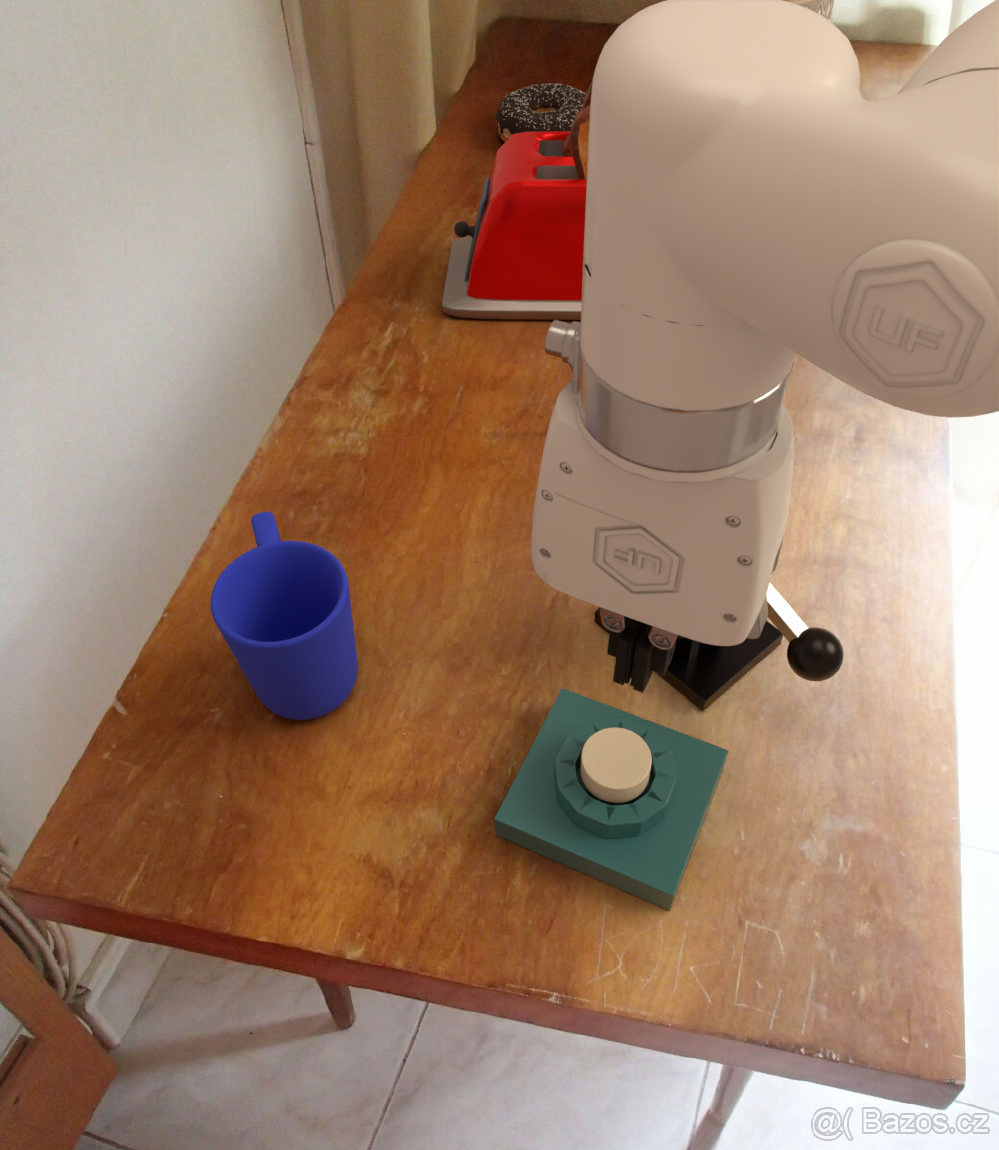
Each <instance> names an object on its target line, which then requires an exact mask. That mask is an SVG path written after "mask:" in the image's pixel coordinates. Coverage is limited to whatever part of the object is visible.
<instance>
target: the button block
mask: <svg viewBox="0 0 999 1150" xmlns="http://www.w3.org/2000/svg"><path fill="white" fill-rule="evenodd" d="M614 727H616V728H624V729H627V730H630V731H632V732H634V733H636V734H637V735H639V736H640V737H641V738H642V739H643V740H644V741H645V743H646V744H647V746H648V747H649V749H650V752H651V757H652V764H651V770H650V776H649V781H648V784H647V786H646V788H645V790H644V791H643V792H642V793H641V794H640V795H639V796H638V797H636V798H634V799H632V800H630V801H627V802H623V803H611V802H606V801H603V800H601V799H599V798H597V797H595V796H594V795H593V794H592V793H590V792H589V790H588V789H587V788H586V787H585V785H584V783H583V781H582V778H581V754H582V749H583V746H584V744H585V743H586V741H587V740H588V738H590V737H591V736H592V735H593V734H594V733H596V732H598V731H600V730H602V729H606V728H614ZM728 755H729V750H728V749H726V748H723V747H721V746H719V745H715V744H713V743H710V742H707V741H704V740H702V739H700V738H696V737H694V736H691V735H688V734H686V733H683V732H681V731H678V730H675V729H673V728H670V727H668V726H665V725H662V724H659V723H657V722H654V721H651V720H649V719H646V718H644V717H641V716H638V715H636V714H633V713H630V712H628V711H625V710H622V709H619V708H617V707H614V706H611V705H609V704H606V703H603V702H601V701H598V700H596V699H593V698H590V697H587V696H585V695H582V694H580V693H577V692H574V691H571V690H569V689H566V688H563V687H562V688H560V691H559V693H558V694H557V696H556V697H555V700H554V702H553V704H552V706H551V708H550V709H549V712H548V714H547V716H546V718H545V719H544V721H543V723H542V725H541V726H540V729H539V731H538V733H537V735H536V736H535V739H534V740H533V742H532V745H531V746H530V748H529V750H528V752H527V754H526V756H525V758H524V760H523V762H522V764H521V766H520V768H519V769H518V771H517V774H516V775H515V778H514V779H513V781H512V783H511V785H510V787H509V789H508V790H507V793H506V794H505V797H504V799H503V801H502V803H501V804H500V806H499V809H498V810H497V812H496V814H495V816H494V818H493V821H494V822H493V823H494V833H495V836H496V837H499V838H501V839H503V840H506V841H508V842H509V843H510V842H511V843H513V844H515V845H518V846H520V847H522V848H524V849H527V850H529V851H531V852H533V853H536V854H538V855H540V856H543V857H545V858H547V859H548V860H552V861H554V862H557V863H559V864H561V865H563V866H566V867H568V868H570V869H573V870H575V871H577V872H580V873H582V874H584V875H586V876H588V877H591V878H593V879H595V880H597V881H599V882H603V883H605V884H607V885H610V886H611V887H614V888H616V889H618V890H621V891H623V892H625V893H627V894H630V895H632V896H634V897H637V898H639V899H642V900H644V901H646V902H649V903H651V904H653V905H655V906H657V907H660V908H662V909H664V910H667V911H671V910H672V908H673V905H674V902H675V900H676V896H677V894H678V891H679V889H680V886H681V884H682V882H683V881H682V880H683V878H684V875H685V872H686V870H687V868H688V865H689V862H690V859H691V857H692V854H693V852H694V849H695V846H696V843H697V841H698V838H699V836H700V833H701V830H702V827H703V825H704V822H705V819H706V817H707V814H708V811H709V809H710V805H711V803H712V801H713V798H714V796H715V793H716V790H717V787H718V784H719V781H720V779H721V776H722V773H723V772H724V768H725V766H726V765H725V764H726V762H727V758H728Z"/></svg>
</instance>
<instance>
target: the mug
mask: <svg viewBox="0 0 999 1150" xmlns="http://www.w3.org/2000/svg"><path fill="white" fill-rule="evenodd" d="M250 524H251V527H252V528H251V529H252V530H253V531H252V532H253V535H254V540H255V543H256V547H254V548H252V549H250V550H248V551H246V552H244V553H242V554H241V555H239V556H238V557H237V558H235V559H234V560H233V561H231V562H230V563H229V564H228V565H227V566H226V568H224V569H223V571H221V573H220V575H219V576H218V577H217V579H216V582H214V585H213V587H212V591H211V595H210V612H211V616H212V619H213V621H214V623H215V625H216V627H217V628H218V630H219V632H220V634H221V635H222V637H223V639H224V641H225V643H226V645H227V646H228V648H229V649H230V651H231V653H232V655H233V656H234V658H235V660H236V662H237V664H238V665H239V667H240V669H241V670H242V672H243V674H244V676H245V677H246V679H247V681H248V682H249V684H250V686H251V688H252V690H253V691H254V694H255V695H256V697H257V698H258V699H259V701H260V702H261V703H262V704H263V705H264V706H265V707H266V709H268V710H269V711H270V712H272V713H274V714H275V715H278V716H280V717H281V718H285V719H289V720H295V721H308V720H314V719H318V718H321V717H324V716H327V715H328V714H329V713H332V712H333V711H335V710H336V709H338V708H340V706H341V705H342V704H343V703H344V702H345V701H346V700H347V699H348V698H349V696H350V694H351V693H352V691H353V689H354V687H355V684H356V682H357V677H358V670H359V664H358V663H359V662H358V661H359V660H358V652H357V646H356V645H357V644H356V636H355V627H354V620H353V611H352V603H351V602H352V601H351V595H350V585H349V579H348V575H347V572H346V570H345V567H344V566H343V564H342V562H340V560H339V558H337V556H336V555H334V554H333V553H331V551H329V550H328V549H326V548H324V547H322V546H319V545H318V544H314V543H311V542H307V541H300V540H281V539H282V538H281V536H280V531H279V528H278V525H277V521H276V518H275V515H274V513H273V512H272V511H262V512H258V513H255V514H254V515H252V516H251V518H250Z"/></svg>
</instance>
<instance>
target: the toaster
mask: <svg viewBox="0 0 999 1150" xmlns="http://www.w3.org/2000/svg"><path fill="white" fill-rule="evenodd" d="M592 83H593V79H592V80H591V81H590V83H589V86H588V88H587V90H586V92H585V94H586V95H585V97H584V101H583V105H582V109H581V111H580V112H579V113H577V114H576V115H575V118H574V121H573V124H572V127H571V130H570V131H544V132H522V133H516V134H513V135H512V136H511V137H510V138H509V139H508V140H507V141H506V142H504V143H503V144H502V145H501V146H500V147H499V148H498V149H497V150H496V154H495V156H494V159H493V163H492V165H491V168H490V171H489V174H488V177H485V179H484V183H483V187H482V191H481V195H480V201H479V205H478V210H477V213H476V214H477V215H476V220H475V224H474V225H473V226H472V225H469V223H468V222H466V221H464V220H460V221H457V222H456V224H455V225H454V229H453V230H454V233H455V235H456V236H457V237H458V238H454V239H453V240H452V242H451V245H450V252H449V257H448V263H447V270H446V274H445V275H446V276H445V281H444V287H443V292H442V299H441V307H442V308H441V309H442V312H443V313H444V314H446V315H449V316H451V317H455V318H459V319H460V318H461V319H477V320H534V321H535V320H541V321H542V320H546V321H550V320H551V321H554V320H559V321H581V305H582V280H583V255H584V233H585V211H586V189H587V167H588V145H589V123H590V104H591V94H592Z"/></svg>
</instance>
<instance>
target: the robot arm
mask: <svg viewBox="0 0 999 1150" xmlns="http://www.w3.org/2000/svg"><path fill="white" fill-rule="evenodd" d="M859 65H860V64H859V59H858V57H857V55H856V53H855V50H854V49H853V46H852V43H851V42H850V40H849V39H848V37H847V36H846V35H845V34H844V32H842V31H841V30H840V29H839V28H838V27H837V26H836V25H835V23H833V22H832V21H831V20H830V21H829V20H828V19H826V18H825V17H823V16H822V15H820V14H818V13H816V12H814V11H812V10H810V9H808V8H805V7H802V6H799V5H797V4H794V3H790V2H786V1H783V0H663V1H660V2H657V3H654V4H652V5H649V6H647V7H645V8H643V9H641V10H639V11H638V12H636V13H635V14H633V15H632V16H630V17H629V18H628V19H626V20H625V21H623V23H620V25H618V26H617V28H616V29H615V31H614V32H613V33H612V34H611V36H609V38H608V40H607V41H606V42H605V43H604V45H603V47H602V50H601V52H600V54H599V56H598V59H597V63H596V66H595V69H594V72H593V77H592V80H593V83H592V94H591V104H590V123H589V145H588V167H587V189H586V211H585V233H584V255H583V280H582V305H581V320H580V321H578V320H572V322H571V323H569V322H567V321H563V320H552V322H551V323H550V325H549V328H548V330H547V332H546V336H545V341H544V352H545V354H546V355H550V356H553V357H557V358H559V359H561V362H562V363H564V364H567V365H568V366H569V368H570V370H571V372H572V378H571V380H570V381H569V382H568V383H567V384H566V385H565V386H564V387H563V388H562V390H561V391H560V392H559V393H558V397H557V398H556V401H555V404H554V407H553V410H552V413H551V416H550V420H549V423H548V428H547V431H546V437H545V440H544V445H543V451H542V456H541V459H540V466H539V472H538V478H537V485H536V490H535V491H536V492H535V497H534V505H533V506H534V507H533V514H532V523H531V534H530V535H531V537H530V559H531V564H532V568H533V571H534V573H535V574H536V576H537V577H538V578H539V579H540V580H541V581H543V582H544V583H545V584H546V585H548V586H549V587H551V588H553V589H554V590H556V591H558V592H560V593H563V594H565V595H567V596H570V597H572V598H575V599H578V600H579V601H582V602H586V603H587V604H590V605H593V606H595V607H598V609H600V617H601V622H602V624H603V626H604V627H606V628H607V629H608V630H610V631H609V634H608V642H607V655H608V656H610V657H614V658H615V660H614V661H615V662H614V669H613V678H612V683H615V684H617V685H620V686H624V685H625V684H626V685H629V686H631V687H632V690H634V691H636V692H639V693H641V694H644V693H645V690H646V688H647V686H648V685H649V682H650V679H651V677H652V675H653V673H656V674H657V673H659V674H661V675H665V673H666V671H667V669H668V666H669V664H670V662H671V659H672V657H673V653H674V650H675V645H676V640H678V639H683V638H689V639H692V640H695V641H698V642H702V643H706V644H710V645H717V646H733V645H737V644H740V643H742V642H743V641H744V640H745V639H746V638H749V639H756V638H759V637H760V635H761V633H762V630H763V627H764V625H765V622H766V621H768V605H767V590H768V587H769V583H770V582H771V579H772V575H773V574H774V572H776V570H777V565H778V562H779V559H780V554H781V550H782V546H783V541H784V537H785V531H786V526H787V522H788V521H787V520H788V515H789V509H790V508H789V507H790V502H791V495H792V490H793V489H792V487H793V479H794V478H793V476H794V465H795V435H794V434H795V433H794V422H793V418H792V415H791V413H790V411H789V410H788V409H787V407H785V406H784V403H785V400H786V395H787V392H788V388H789V384H790V380H791V375H792V371H793V368H794V363H795V358H796V356H797V355H798V356H800V357H801V358H803V359H805V360H807V361H808V362H810V363H811V364H813V365H814V366H816V367H818V369H821V370H822V371H823V372H826V373H827V374H829V375H831V376H832V377H834V378H835V379H837V380H839V381H841V382H842V383H844V384H846V385H848V386H849V387H851V388H853V389H855V390H856V391H859V392H860V393H862V394H864V395H866V396H869V397H871V398H873V399H876V400H878V401H880V402H883V403H885V404H888V405H890V406H892V407H894V408H898V409H902V410H906V411H909V412H913V413H917V414H919V415H924V416H929V417H930V416H931V417H939V418H950V419H951V418H973V417H978V416H984V415H989V414H993V413H997V412H999V0H993V1H992V2H990V3H989V4H987V5H986V6H984V7H982V8H981V9H980V10H978V11H977V12H975V13H973V14H972V15H971V16H970V17H969V18H967V19H966V20H965V21H964V22H962V24H960V25H959V26H958V27H956V28H955V29H954V30H953V31H952V32H950V33H949V34H948V35H947V36H946V37H945V38H944V39H943V40H942V41H941V42H940V43H939V44H938V45H937V47H935V48H934V50H932V51H931V52H930V54H928V56H927V58H925V59H924V61H923V62H922V63H921V64H920V65H919V66H918V67H917V68H916V70H915V71H914V72H913V73H912V74H911V76H910V77H909V78H908V79H907V81H906V82H905V83H904V84H903V85H902V87H901V88H900V89H899V90H898V92H897V93H896V94H893V95H890V96H886V97H883V98H880V99H876V100H867V99H866V98H864V97H863V96H862V94H861V73H860V72H861V71H860V66H859ZM629 682H630V683H629Z"/></svg>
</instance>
